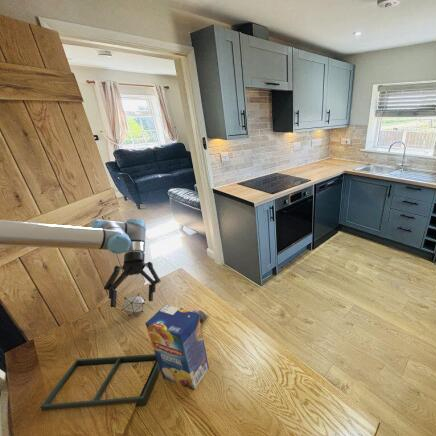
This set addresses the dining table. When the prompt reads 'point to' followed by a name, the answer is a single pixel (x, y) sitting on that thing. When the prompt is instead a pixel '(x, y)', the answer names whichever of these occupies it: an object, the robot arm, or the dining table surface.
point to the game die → (133, 304)
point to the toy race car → (200, 315)
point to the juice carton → (178, 345)
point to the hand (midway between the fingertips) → (132, 304)
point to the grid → (106, 383)
